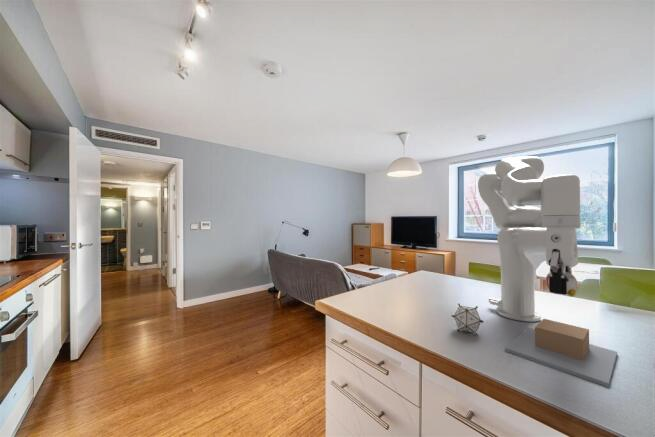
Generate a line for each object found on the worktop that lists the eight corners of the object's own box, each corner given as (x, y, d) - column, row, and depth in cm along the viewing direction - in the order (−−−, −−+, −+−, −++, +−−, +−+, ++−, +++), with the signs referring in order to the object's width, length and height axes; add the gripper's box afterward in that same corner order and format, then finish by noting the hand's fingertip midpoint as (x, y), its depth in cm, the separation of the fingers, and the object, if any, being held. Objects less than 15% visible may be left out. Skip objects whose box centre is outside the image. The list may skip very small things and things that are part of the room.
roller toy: (562, 291, 68) (562, 269, 68) (582, 298, 62) (582, 274, 62) (544, 290, 69) (544, 269, 69) (562, 297, 62) (561, 274, 62)
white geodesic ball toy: (470, 347, 74) (469, 328, 69) (446, 327, 81) (443, 308, 76) (491, 329, 76) (491, 309, 71) (466, 311, 83) (464, 291, 78)
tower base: (504, 350, 65) (504, 328, 65) (528, 330, 77) (527, 311, 77) (608, 387, 51) (608, 358, 51) (617, 354, 63) (616, 331, 63)
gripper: (573, 222, 57) (574, 301, 57) (585, 222, 68) (586, 288, 67) (532, 222, 63) (533, 293, 63) (549, 222, 74) (550, 283, 73)
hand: (561, 290), depth 65 cm, fingers closed on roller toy, 6 cm apart
